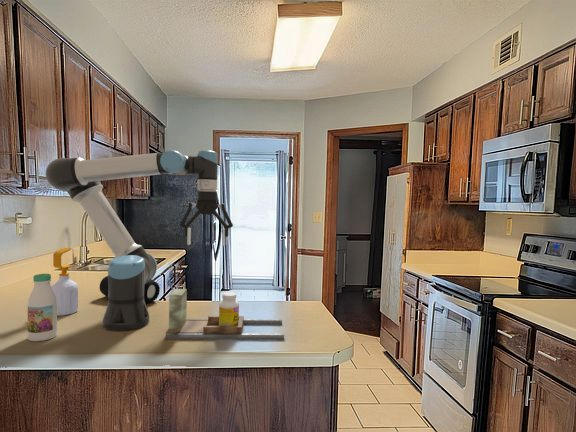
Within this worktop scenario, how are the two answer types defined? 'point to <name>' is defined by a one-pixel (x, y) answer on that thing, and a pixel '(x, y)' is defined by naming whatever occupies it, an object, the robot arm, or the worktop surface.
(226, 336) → the lane rails
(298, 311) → the worktop surface
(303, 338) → the worktop surface
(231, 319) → the supplement bottle
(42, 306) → the milk bottle
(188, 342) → the worktop surface
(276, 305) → the worktop surface
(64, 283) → the soap bottle
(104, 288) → the portable speaker
